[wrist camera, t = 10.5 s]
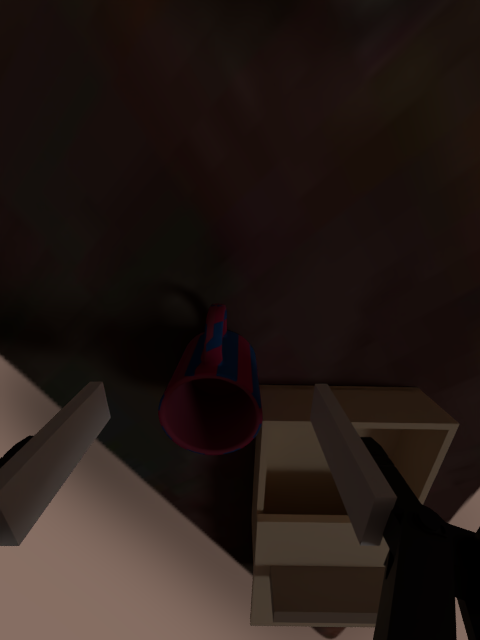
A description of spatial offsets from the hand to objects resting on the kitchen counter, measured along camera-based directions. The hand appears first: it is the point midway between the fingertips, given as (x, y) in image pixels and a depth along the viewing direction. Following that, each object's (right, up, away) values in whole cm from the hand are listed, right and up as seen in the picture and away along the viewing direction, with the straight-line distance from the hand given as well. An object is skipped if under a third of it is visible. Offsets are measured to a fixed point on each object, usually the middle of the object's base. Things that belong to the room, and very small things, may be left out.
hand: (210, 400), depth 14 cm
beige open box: (+11, -11, +11) cm, 19 cm away
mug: (0, +3, +6) cm, 7 cm away
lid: (+11, -22, +10) cm, 27 cm away
